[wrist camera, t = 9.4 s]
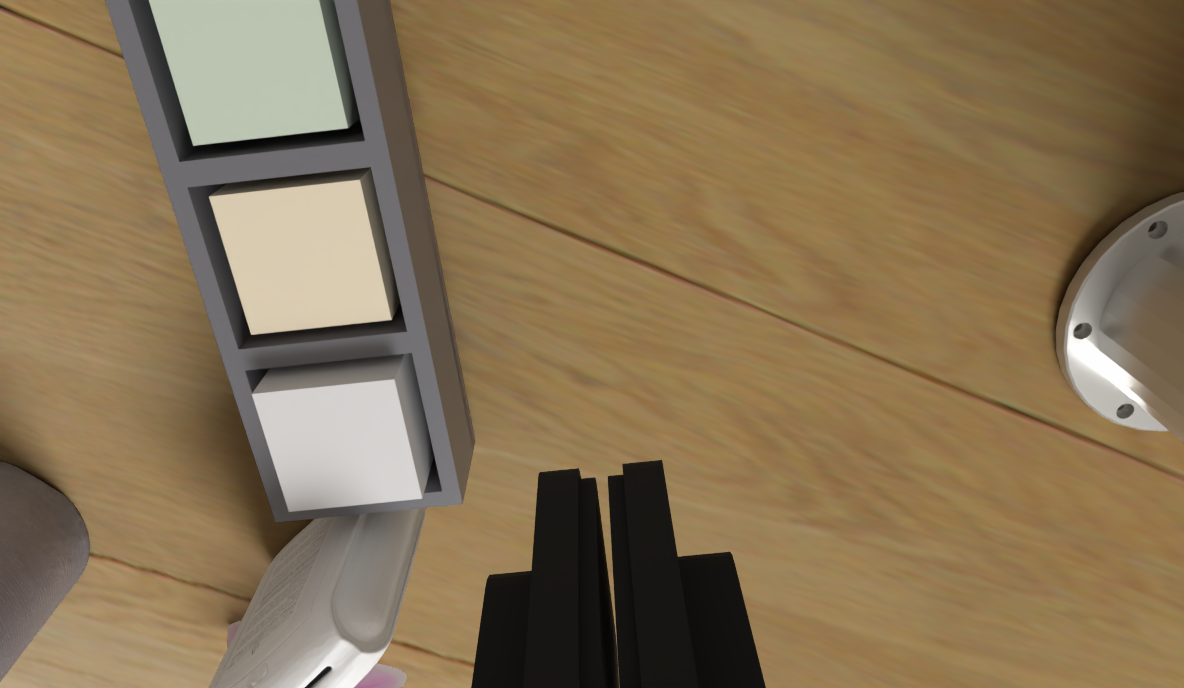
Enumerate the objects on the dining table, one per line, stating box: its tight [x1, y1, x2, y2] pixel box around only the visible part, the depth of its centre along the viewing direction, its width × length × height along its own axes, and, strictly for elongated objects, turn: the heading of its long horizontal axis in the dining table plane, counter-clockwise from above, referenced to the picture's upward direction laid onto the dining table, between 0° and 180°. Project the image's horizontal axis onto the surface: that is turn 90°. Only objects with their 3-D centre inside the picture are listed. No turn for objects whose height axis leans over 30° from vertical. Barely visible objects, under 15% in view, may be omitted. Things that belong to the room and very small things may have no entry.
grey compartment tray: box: [105, 0, 475, 522], centre depth 37 cm, size 9×25×6 cm, turn 6°
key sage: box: [149, 0, 360, 146], centre depth 33 cm, size 6×6×4 cm
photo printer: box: [209, 508, 425, 688], centre depth 42 cm, size 10×4×12 cm, turn 133°
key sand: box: [209, 167, 400, 335], centre depth 37 cm, size 6×6×4 cm
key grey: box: [252, 353, 434, 512], centre depth 39 cm, size 6×6×4 cm
